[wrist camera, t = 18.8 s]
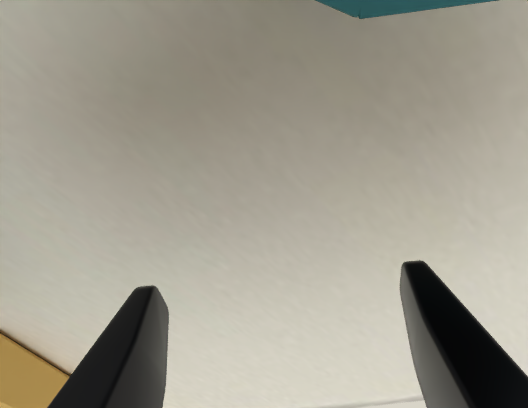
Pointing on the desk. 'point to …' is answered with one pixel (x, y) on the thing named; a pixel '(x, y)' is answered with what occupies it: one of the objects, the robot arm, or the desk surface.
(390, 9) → the ring
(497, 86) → the desk surface
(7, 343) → the rubber stamp
